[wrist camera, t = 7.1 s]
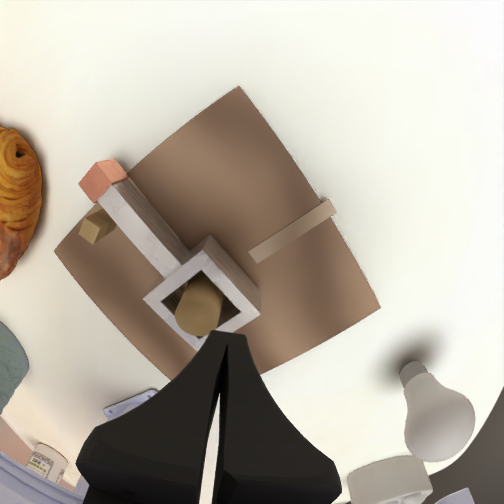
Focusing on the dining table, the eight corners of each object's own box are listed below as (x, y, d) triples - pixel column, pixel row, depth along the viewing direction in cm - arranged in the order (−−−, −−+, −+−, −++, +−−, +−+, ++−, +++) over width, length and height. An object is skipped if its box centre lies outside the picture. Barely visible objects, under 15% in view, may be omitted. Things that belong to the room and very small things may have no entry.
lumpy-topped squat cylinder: (387, 484, 35) (397, 520, 27) (331, 485, 33) (337, 529, 25) (428, 454, 32) (444, 494, 24) (375, 454, 30) (388, 504, 22)
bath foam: (32, 440, 34) (-4, 511, 15) (51, 444, 33) (14, 524, 15) (54, 460, 36) (24, 529, 18) (75, 465, 36) (45, 542, 17)
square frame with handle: (260, 291, 19) (261, 314, 17) (205, 328, 21) (199, 353, 18) (131, 141, 16) (110, 142, 13) (84, 194, 17) (60, 203, 15)
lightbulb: (393, 340, 22) (445, 439, 12) (444, 339, 22) (500, 420, 12) (370, 389, 24) (402, 482, 14) (419, 385, 25) (458, 465, 14)
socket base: (197, 396, 25) (188, 439, 20) (55, 242, 20) (15, 268, 15) (382, 299, 21) (410, 338, 16) (241, 77, 16) (235, 53, 11)
